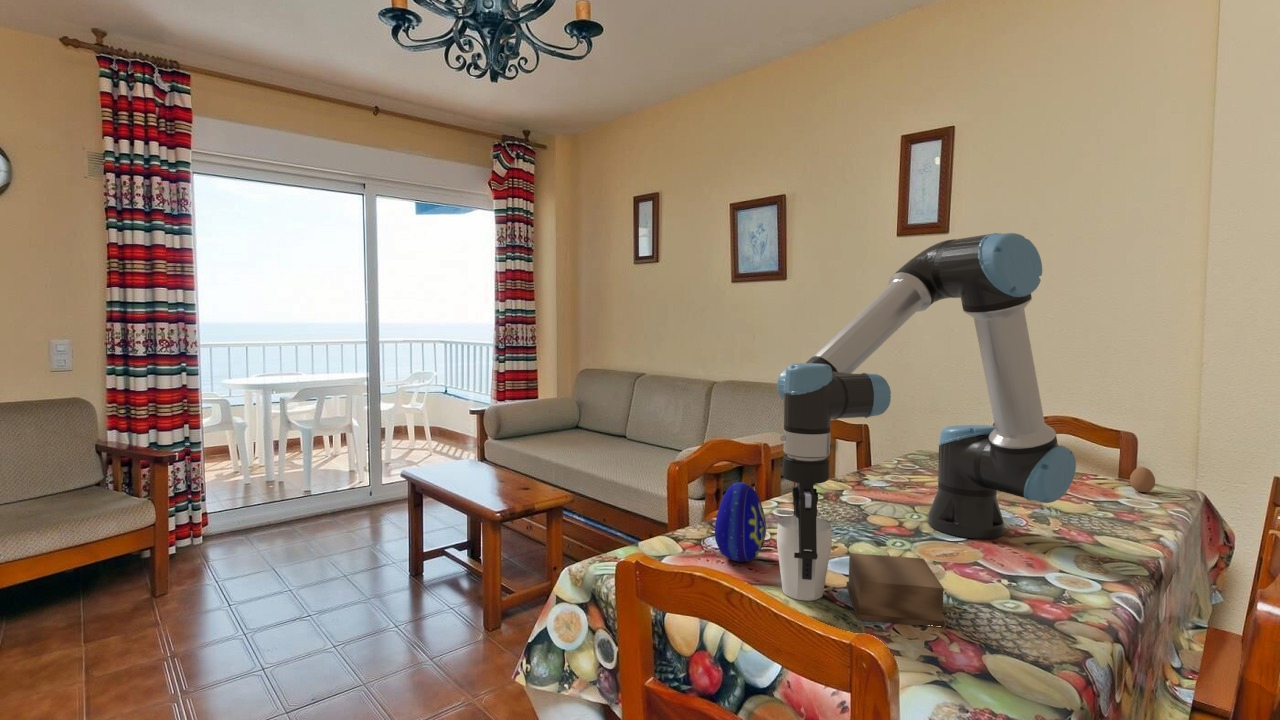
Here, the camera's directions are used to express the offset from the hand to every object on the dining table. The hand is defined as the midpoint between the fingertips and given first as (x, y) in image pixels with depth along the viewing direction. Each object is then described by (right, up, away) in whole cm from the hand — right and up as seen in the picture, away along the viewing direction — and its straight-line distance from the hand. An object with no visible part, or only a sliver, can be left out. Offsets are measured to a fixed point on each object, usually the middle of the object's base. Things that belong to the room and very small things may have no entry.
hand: (802, 579), depth 107 cm
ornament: (-8, -1, +15) cm, 17 cm away
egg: (+109, +1, +65) cm, 127 cm away
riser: (+13, -3, -4) cm, 14 cm away
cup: (0, -2, 0) cm, 2 cm away
